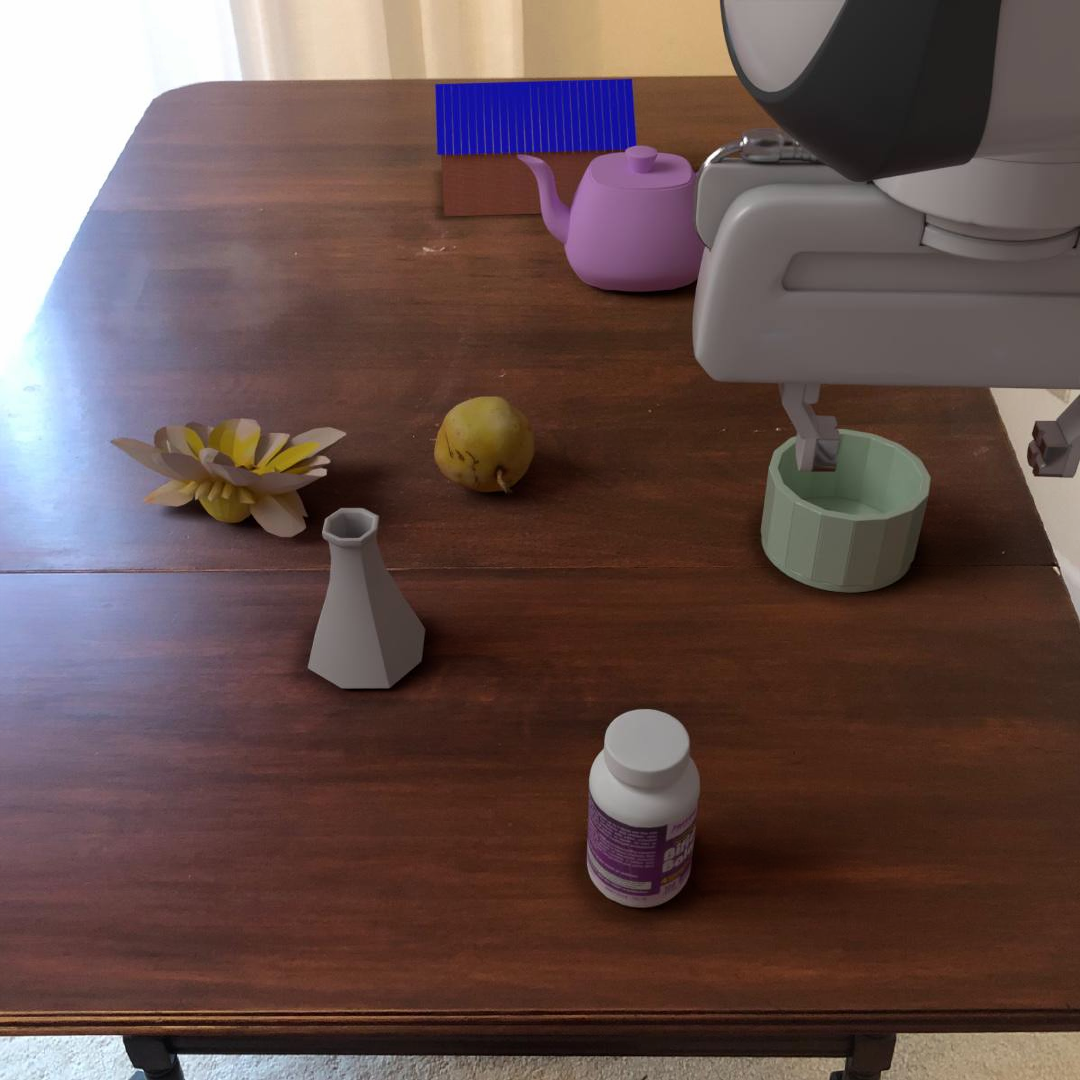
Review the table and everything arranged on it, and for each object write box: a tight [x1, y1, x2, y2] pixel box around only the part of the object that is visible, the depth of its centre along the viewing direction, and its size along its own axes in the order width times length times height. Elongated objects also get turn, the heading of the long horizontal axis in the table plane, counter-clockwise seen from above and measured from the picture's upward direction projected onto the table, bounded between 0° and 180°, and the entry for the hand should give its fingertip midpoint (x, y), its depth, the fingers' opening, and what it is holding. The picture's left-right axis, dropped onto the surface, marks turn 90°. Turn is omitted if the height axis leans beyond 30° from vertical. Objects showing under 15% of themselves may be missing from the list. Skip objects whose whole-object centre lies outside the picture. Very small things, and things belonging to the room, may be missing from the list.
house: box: [434, 78, 637, 217], centre depth 127 cm, size 12×20×12 cm, turn 93°
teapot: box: [517, 145, 705, 293], centre depth 112 cm, size 20×13×12 cm, turn 89°
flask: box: [307, 507, 426, 689], centre depth 72 cm, size 7×7×10 cm
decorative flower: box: [109, 417, 347, 538], centre depth 85 cm, size 15×11×10 cm
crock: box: [760, 428, 932, 594], centre depth 81 cm, size 10×10×6 cm
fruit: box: [433, 394, 535, 495], centre depth 87 cm, size 7×7×10 cm
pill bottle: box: [586, 708, 701, 909], centre depth 60 cm, size 5×5×10 cm
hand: (930, 466), depth 50 cm, fingers open, 8 cm apart
